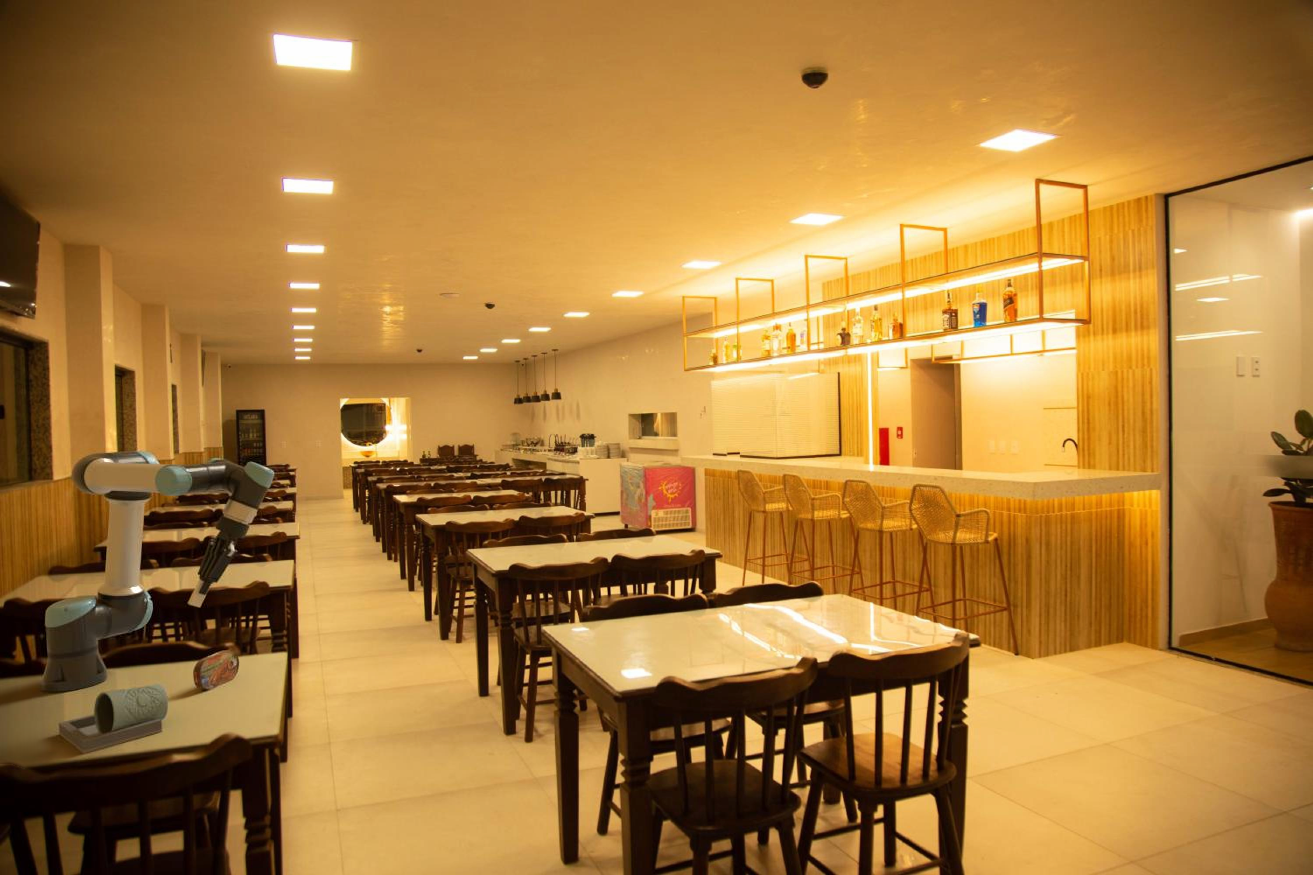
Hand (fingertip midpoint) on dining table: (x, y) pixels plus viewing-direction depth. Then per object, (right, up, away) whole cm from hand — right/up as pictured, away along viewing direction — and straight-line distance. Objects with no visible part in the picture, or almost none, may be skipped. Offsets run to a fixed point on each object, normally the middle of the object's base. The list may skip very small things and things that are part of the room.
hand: (193, 605), depth 218 cm
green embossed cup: (+1, -20, -16) cm, 26 cm away
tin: (-1, -24, +13) cm, 27 cm away
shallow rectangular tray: (-7, -25, -22) cm, 34 cm away
